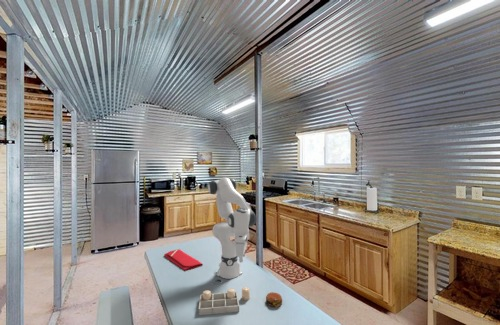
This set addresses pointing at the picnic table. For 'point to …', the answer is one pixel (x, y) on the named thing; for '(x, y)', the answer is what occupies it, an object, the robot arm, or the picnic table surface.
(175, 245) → the picnic table surface
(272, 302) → the burger
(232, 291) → the egg
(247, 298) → the egg
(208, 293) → the egg
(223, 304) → the carton
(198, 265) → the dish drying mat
